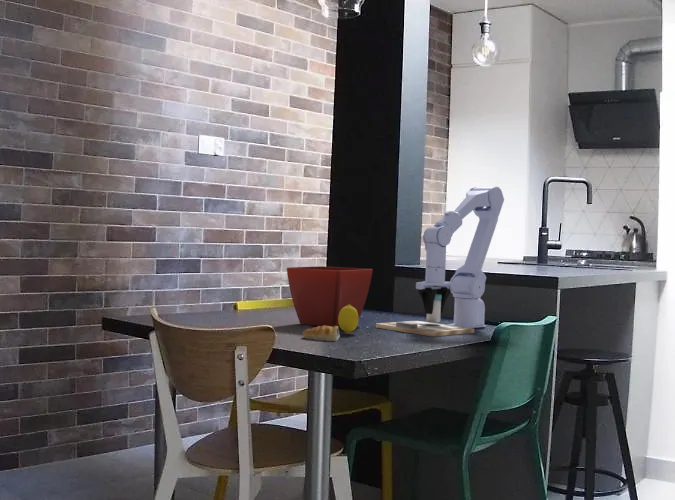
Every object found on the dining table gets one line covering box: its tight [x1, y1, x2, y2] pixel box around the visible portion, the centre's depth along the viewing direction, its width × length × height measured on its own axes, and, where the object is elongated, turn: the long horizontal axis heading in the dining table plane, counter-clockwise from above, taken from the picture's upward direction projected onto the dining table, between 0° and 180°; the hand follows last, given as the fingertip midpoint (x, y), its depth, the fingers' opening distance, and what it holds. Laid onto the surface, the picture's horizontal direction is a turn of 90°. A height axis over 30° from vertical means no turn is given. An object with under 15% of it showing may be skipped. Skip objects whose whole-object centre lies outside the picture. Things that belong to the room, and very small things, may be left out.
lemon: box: [338, 305, 360, 335], centre depth 221 cm, size 6×6×8 cm
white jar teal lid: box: [426, 294, 442, 323], centre depth 239 cm, size 4×4×8 cm
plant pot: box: [286, 265, 373, 328], centre depth 241 cm, size 19×19×17 cm
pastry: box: [302, 326, 341, 342], centre depth 208 cm, size 9×7×4 cm
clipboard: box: [375, 320, 475, 337], centre depth 236 cm, size 18×22×2 cm
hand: (433, 313), depth 239 cm, fingers closed on white jar teal lid, 4 cm apart
